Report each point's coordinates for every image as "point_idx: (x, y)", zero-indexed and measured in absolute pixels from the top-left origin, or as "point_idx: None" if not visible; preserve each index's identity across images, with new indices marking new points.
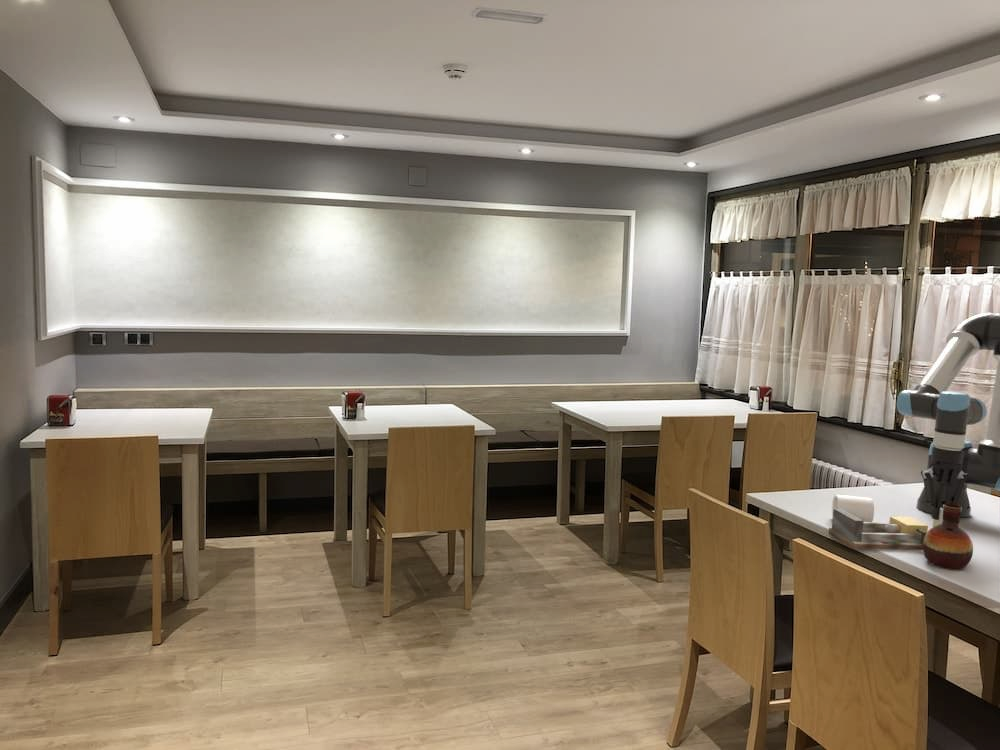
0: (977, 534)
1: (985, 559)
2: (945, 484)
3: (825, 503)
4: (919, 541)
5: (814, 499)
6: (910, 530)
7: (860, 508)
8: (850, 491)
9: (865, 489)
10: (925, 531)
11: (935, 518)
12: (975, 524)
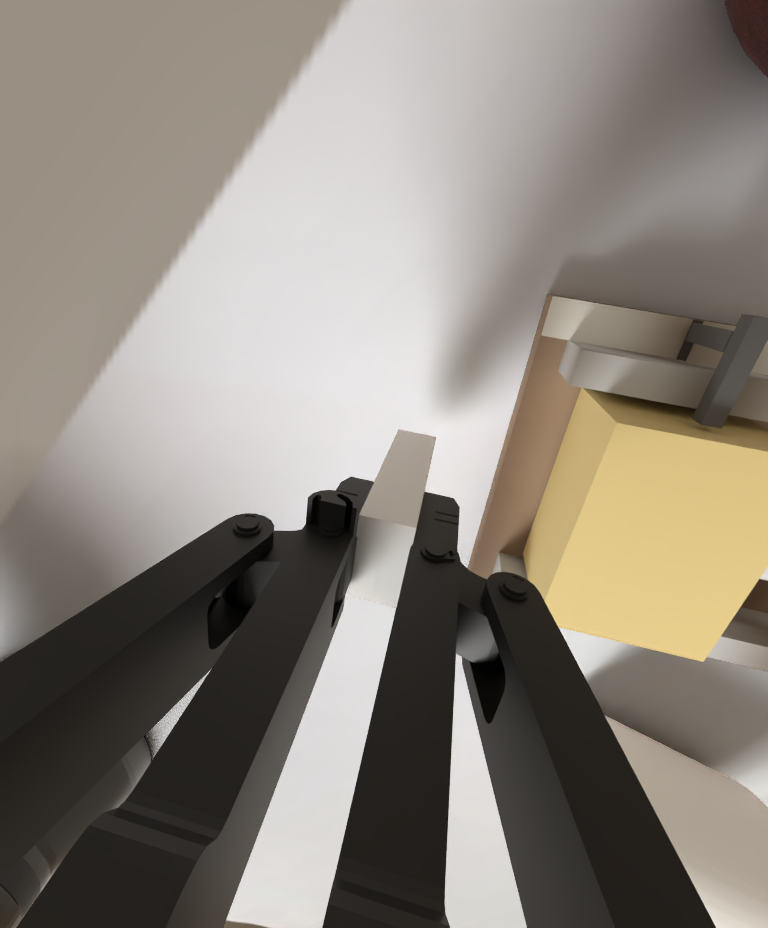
0: (93, 499)
1: (366, 50)
2: (225, 882)
3: (487, 891)
4: (687, 363)
5: (490, 921)
6: (763, 439)
7: (684, 813)
8: (272, 913)
9: None
10: (620, 409)
11: (453, 503)
12: (26, 600)
